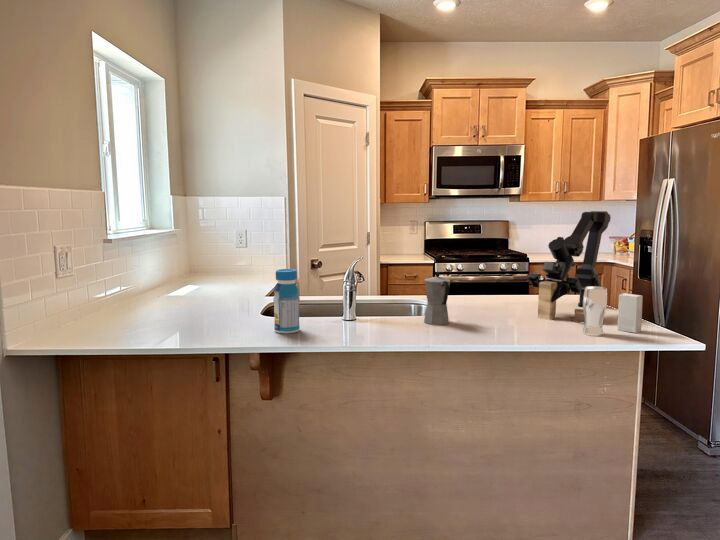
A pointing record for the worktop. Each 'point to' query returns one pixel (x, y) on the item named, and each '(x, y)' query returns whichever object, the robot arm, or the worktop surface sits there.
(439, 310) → the coffeepot
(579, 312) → the square wooden tray
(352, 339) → the worktop surface
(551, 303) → the pillar block
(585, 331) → the beer glass
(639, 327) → the skincare box
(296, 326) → the beverage bottle
